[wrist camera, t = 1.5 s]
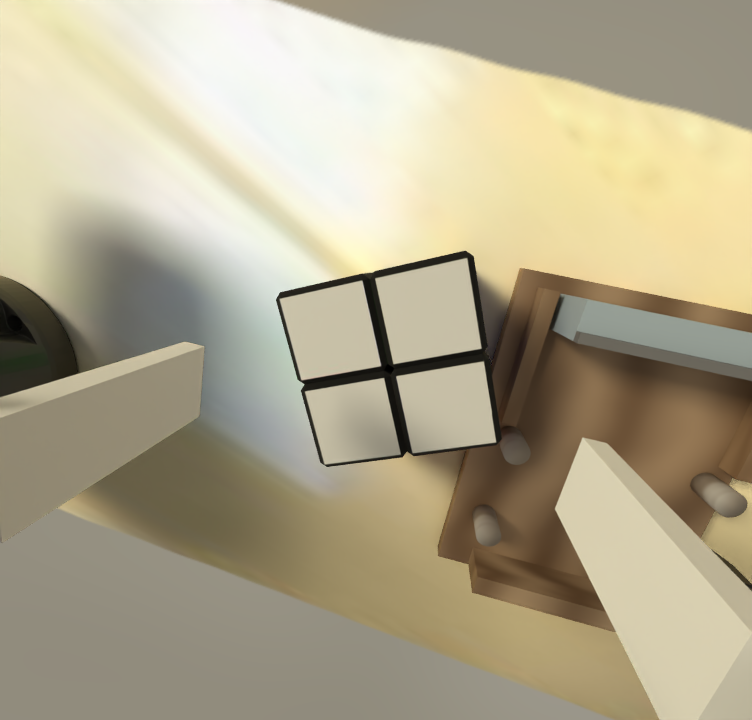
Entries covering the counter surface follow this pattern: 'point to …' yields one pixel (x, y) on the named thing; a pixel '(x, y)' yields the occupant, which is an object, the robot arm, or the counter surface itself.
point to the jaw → (654, 336)
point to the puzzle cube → (394, 361)
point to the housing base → (597, 422)
